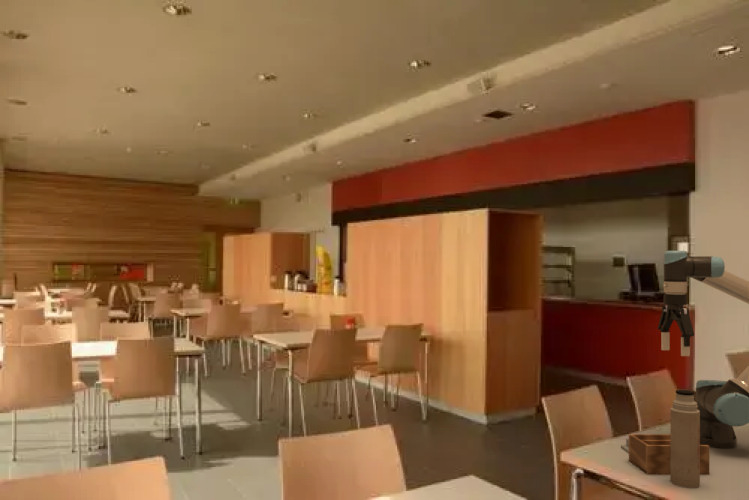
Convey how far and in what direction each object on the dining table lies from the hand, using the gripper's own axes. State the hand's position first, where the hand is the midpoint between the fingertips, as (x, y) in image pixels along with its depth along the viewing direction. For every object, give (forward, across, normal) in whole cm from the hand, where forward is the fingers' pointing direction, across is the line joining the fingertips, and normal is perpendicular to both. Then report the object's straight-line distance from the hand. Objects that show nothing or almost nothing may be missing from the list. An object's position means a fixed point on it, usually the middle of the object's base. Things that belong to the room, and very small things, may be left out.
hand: (675, 353), depth 218 cm
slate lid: (+35, +2, -10) cm, 37 cm away
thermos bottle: (+35, +32, -14) cm, 49 cm away
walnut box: (+35, +18, -12) cm, 41 cm away
